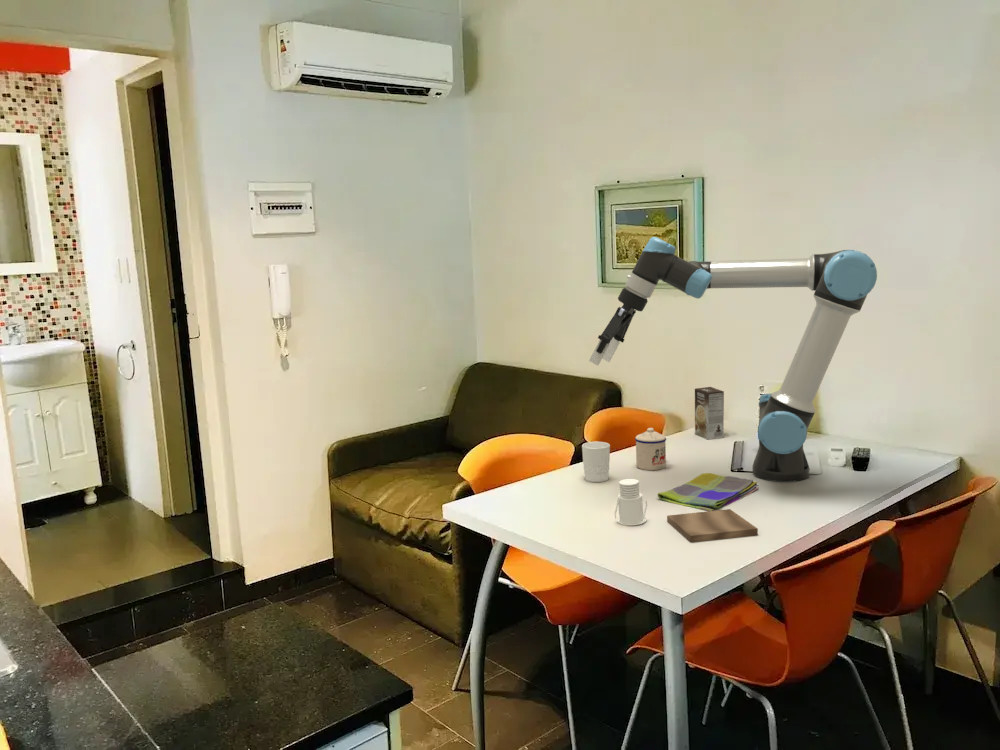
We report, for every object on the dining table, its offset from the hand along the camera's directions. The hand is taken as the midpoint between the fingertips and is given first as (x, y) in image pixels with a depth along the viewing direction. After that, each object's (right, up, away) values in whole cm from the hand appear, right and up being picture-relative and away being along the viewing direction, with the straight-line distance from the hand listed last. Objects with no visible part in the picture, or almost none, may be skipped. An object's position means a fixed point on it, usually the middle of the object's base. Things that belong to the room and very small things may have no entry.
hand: (599, 361), depth 220 cm
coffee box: (+44, -25, +52) cm, 72 cm away
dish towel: (+28, -36, -9) cm, 46 cm away
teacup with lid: (+19, -31, +19) cm, 41 cm away
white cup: (0, -34, +8) cm, 35 cm away
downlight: (+4, -39, -27) cm, 48 cm away
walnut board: (+22, -39, -34) cm, 57 cm away
